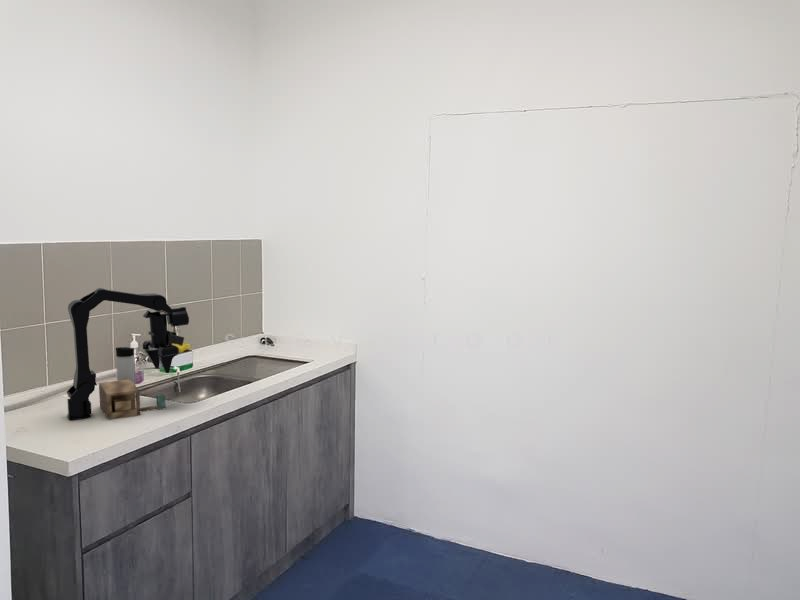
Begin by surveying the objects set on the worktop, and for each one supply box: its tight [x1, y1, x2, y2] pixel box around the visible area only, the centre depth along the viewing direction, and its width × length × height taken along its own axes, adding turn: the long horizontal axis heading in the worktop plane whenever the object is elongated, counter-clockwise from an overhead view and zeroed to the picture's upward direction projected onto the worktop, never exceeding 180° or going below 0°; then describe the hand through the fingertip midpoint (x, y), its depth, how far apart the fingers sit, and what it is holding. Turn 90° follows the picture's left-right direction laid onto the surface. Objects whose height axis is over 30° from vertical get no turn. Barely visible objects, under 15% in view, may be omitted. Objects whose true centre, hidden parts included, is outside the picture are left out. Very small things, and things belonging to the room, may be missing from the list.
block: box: [113, 393, 167, 412], centre depth 221 cm, size 17×5×5 cm, turn 124°
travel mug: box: [115, 346, 137, 399], centre depth 235 cm, size 6×7×20 cm
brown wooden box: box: [98, 379, 141, 420], centre depth 221 cm, size 10×18×9 cm, turn 33°
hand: (162, 370), depth 229 cm, fingers open, 9 cm apart
